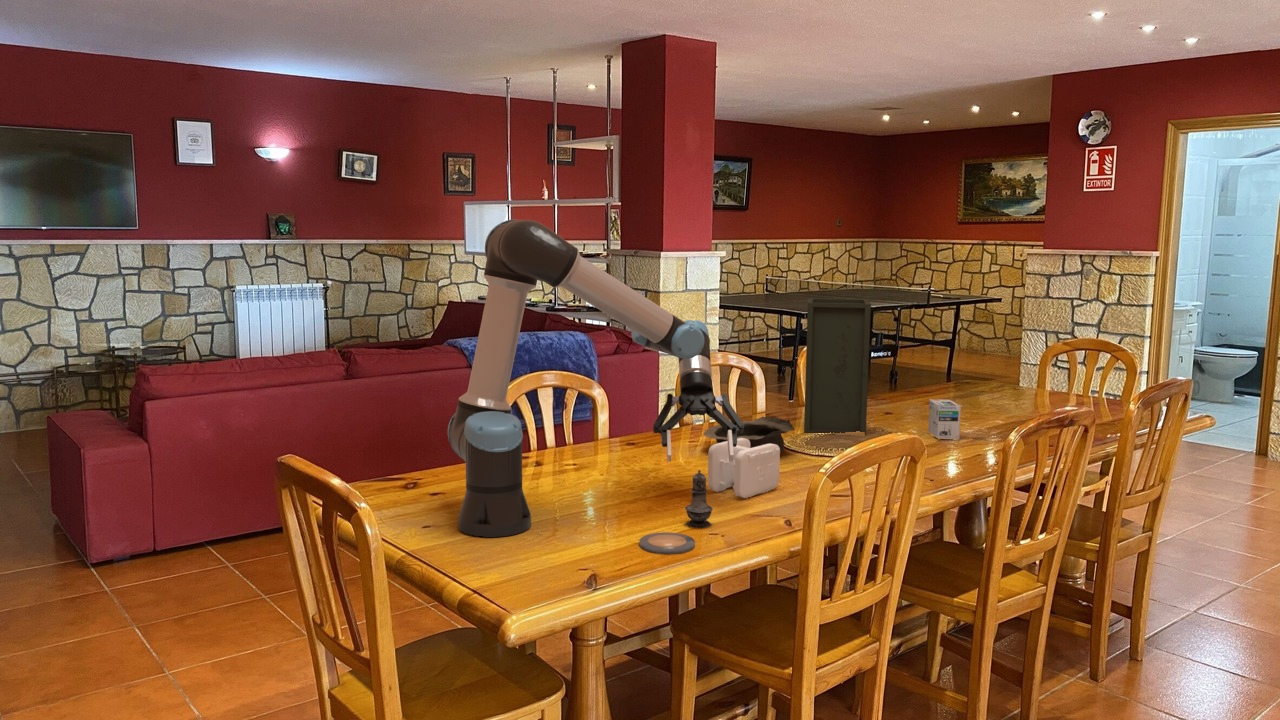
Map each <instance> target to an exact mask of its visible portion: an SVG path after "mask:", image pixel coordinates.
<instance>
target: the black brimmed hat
mask: <svg viewBox="0 0 1280 720" xmlns="http://www.w3.org/2000/svg"><path fill="white" fill-rule="evenodd" d="M741 421H742V422H743V424H744V430H743V433H737V439H738V438H745V439H748V440H749V441H750V448H753V447H757V446H761V445H765V444H769V443H770V444H775V445H778V446H779V448H780V454H782V453H783V452H784V449H785V442H784V437H783V436H782V434H787V433H788V432H790V431H794V430H796V429H795V427H794V426H793V424H792V422H791V421H790V419H782V418H778V417H776V416H762V417H761V416H760V417H759V418H755V419H753V420H741ZM727 434H728V432H727V431H726V430H725V429H724V428H723V427H722V426H721V425H720V424H717V425H713V426H710V427H708V428H706V429H705V430H704V432H703V436H705V437H706V438H709V439H710V440H715V441H716V444H717V443H721V442H726V441H727Z"/></svg>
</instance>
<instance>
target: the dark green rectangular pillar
mask: <svg viewBox="0 0 1280 720" xmlns="http://www.w3.org/2000/svg"><path fill="white" fill-rule="evenodd" d="M871 310H872V304H871V302H870V301H869V299H856V298H855V299H852V298H850V299H849V298H848V299H847V298H845V299H844V298H808V299H807V316H806V317H807V318H806V319H807V320H806V348H805V350H806V352H805V353H806V354H805V355H806V357H805V358H806V359H805V381H804V382H805V387H804V414H803V415H804V418H803V419H804V420H803V421H804V422H803V434H804V433H830V432H831V433H833V432H834V433H840V432H841V433H845V432H856V431H860V432H866V433H867V415H868V414H867V412H868V390H869V389H868V387H869V368H870V367H869V361H870V335H871V313H872V312H871Z"/></svg>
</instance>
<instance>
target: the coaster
mask: <svg viewBox="0 0 1280 720" xmlns="http://www.w3.org/2000/svg"><path fill="white" fill-rule="evenodd" d="M695 546H696V541H695V539H694V538H693V537H691V536H689V535H687V534H683V533H680V532H679V533H678V532H667V531H666V532H653V533H648V534H645V535H644V536H642V537H640V539H639V548H640V549H642V550H644V551H646V552H647V553H653V554H657V555H678V554H684V553H688V552H690V551H692V550H694V549H695Z"/></svg>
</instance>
